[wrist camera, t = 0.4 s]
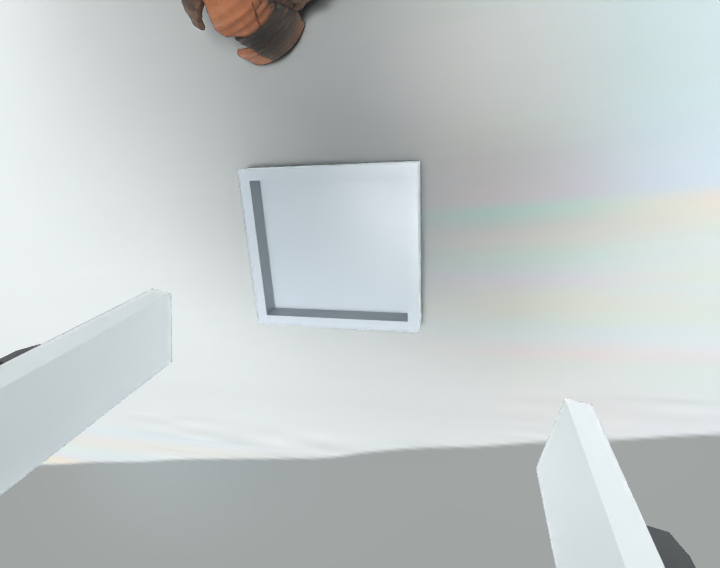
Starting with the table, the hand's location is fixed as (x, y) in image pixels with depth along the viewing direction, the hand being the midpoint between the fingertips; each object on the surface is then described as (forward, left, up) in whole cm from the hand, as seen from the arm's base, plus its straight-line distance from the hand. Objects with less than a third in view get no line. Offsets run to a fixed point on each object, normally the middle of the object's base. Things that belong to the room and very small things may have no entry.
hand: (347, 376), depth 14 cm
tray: (+2, -8, -27) cm, 28 cm away
